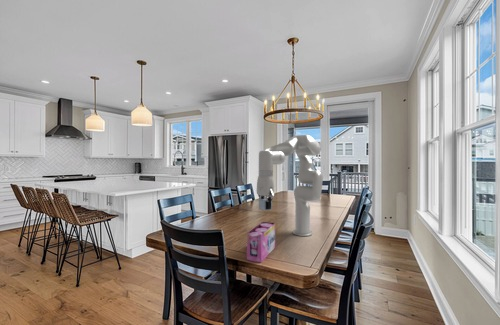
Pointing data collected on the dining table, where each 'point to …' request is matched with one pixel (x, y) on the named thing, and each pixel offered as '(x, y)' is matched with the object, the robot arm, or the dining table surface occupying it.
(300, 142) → the robot arm
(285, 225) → the dining table surface
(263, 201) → the slate cube
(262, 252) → the gum box
